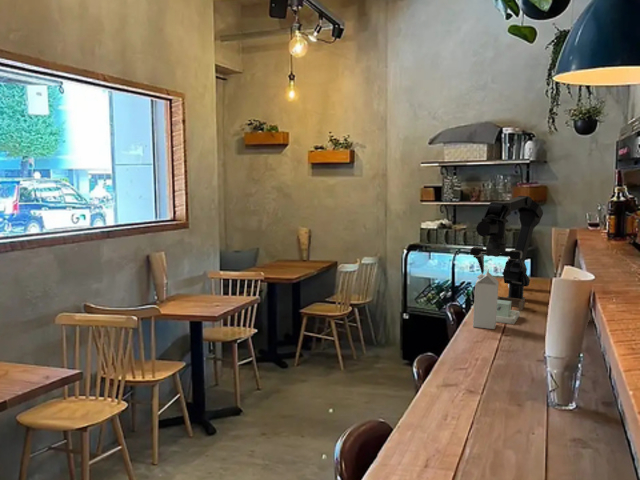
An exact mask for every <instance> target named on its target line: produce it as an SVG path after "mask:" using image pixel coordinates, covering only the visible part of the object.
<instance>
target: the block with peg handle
mask: <svg viewBox="0 0 640 480" xmlns="http://www.w3.org/2000/svg"><path fill="white" fill-rule="evenodd" d="M511 302H512V301H505V300H497V315H496V316H501V317H509V316H510V315H511V310H512V306H511Z"/></svg>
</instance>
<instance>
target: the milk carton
mask: <svg viewBox="0 0 640 480" xmlns="http://www.w3.org/2000/svg"><path fill="white" fill-rule="evenodd" d="M489 270H490V268H488V269H487V271H486V273H485V274H484V273H483V274H482V273H480V274H479V275H477V276H476V278H477V280H476V282H475V286H474V299H473V301H474V302H473V303H474V304H473V317H472V328H479V329H480V328H482V329H488V330H495V329H496V325H497V322H496V315H497V299H498V296H499V280H498V279H496V277H494V276H493V275H492V274H491V272H489Z"/></svg>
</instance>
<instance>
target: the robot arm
mask: <svg viewBox="0 0 640 480" xmlns="http://www.w3.org/2000/svg"><path fill="white" fill-rule="evenodd" d="M513 211H517V212H518V214H519V222H520V224H521V225H520V228H519V229H520V230H519V232H518V237H517V240H516V244H515V248H514V249H511V250H509V251H508V250H507V246H506V243H505V241H506V226H507V225H506V224H508V223H509V220H508V219H507V218H508V217H509V216H511V212H513ZM543 214H544V211H543V209H542V207H541V206H540V204H539V203H537V202H536V201H534V200H533V199H532V197H531V196H529V195H528V196H527V195H518V196H516V197H513V198H510V199H508V200H504V201H491V202H490V203H489V204H488V206H487V207H486V210H485V213H484V215H483V216H482V218H481V221H480V222H478V223H477V225H476V230H475V231H476V233H477V234H478V235H479V236H480V237H488V242H487V245H486V248H484V247H483V246H473V247H471V248H470V250H469V255H470V256H473V258H475V259H476V261H477V263H478V266H479V269H480V272H481V273H480V274H483V275H484V271H485V255H486V256H487V257H494V258H495V257H500V256H501V257H508V256H509V257H510V259H508V258H507V261H505V266H504V269H503V271H502V275H503V282H504V284H507V285H508V284H509V288H508V295H507V297H508V298H516V299H526V297H525V296H524V290H525V289H524V288H525V287H529V285H530V283H531V280H530V277H529V276H528V274H527V270H528V269H527V266H526V259H527V255H528V251H529V247H530V243H531V239H532V235H533V233H534V229H535V228H536V227H537V226H538V225H539V224H540V223H541V220H542V218H543ZM506 250H507V251H506Z"/></svg>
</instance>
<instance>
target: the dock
mask: <svg viewBox="0 0 640 480" xmlns="http://www.w3.org/2000/svg"><path fill="white" fill-rule="evenodd" d="M525 299H526V298H525ZM525 299H516V298H508V296H505V297H504V296H499V295H498V299H497V300H505V301H512V302H511V307H516V308H518V310H517V311H520V312H522V311H523V310H524V309H525V305H526V303H525V302H526V301H525Z"/></svg>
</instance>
